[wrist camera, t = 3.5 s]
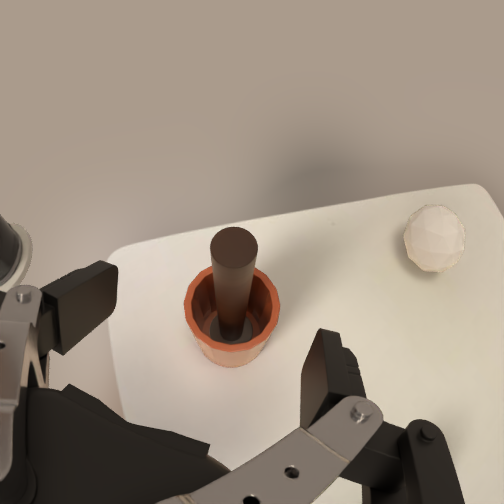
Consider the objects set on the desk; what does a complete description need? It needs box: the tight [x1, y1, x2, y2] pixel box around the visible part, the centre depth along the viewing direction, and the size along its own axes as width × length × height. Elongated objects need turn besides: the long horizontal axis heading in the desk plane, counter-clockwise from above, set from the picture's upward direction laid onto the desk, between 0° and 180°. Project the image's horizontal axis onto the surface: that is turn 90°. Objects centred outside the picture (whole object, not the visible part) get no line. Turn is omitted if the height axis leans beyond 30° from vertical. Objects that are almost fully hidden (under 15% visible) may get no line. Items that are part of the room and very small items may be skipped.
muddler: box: [209, 227, 258, 345], centre depth 20 cm, size 4×4×16 cm
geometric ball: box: [403, 205, 465, 272], centre depth 30 cm, size 8×8×8 cm
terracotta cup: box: [184, 266, 280, 367], centre depth 23 cm, size 6×6×9 cm
